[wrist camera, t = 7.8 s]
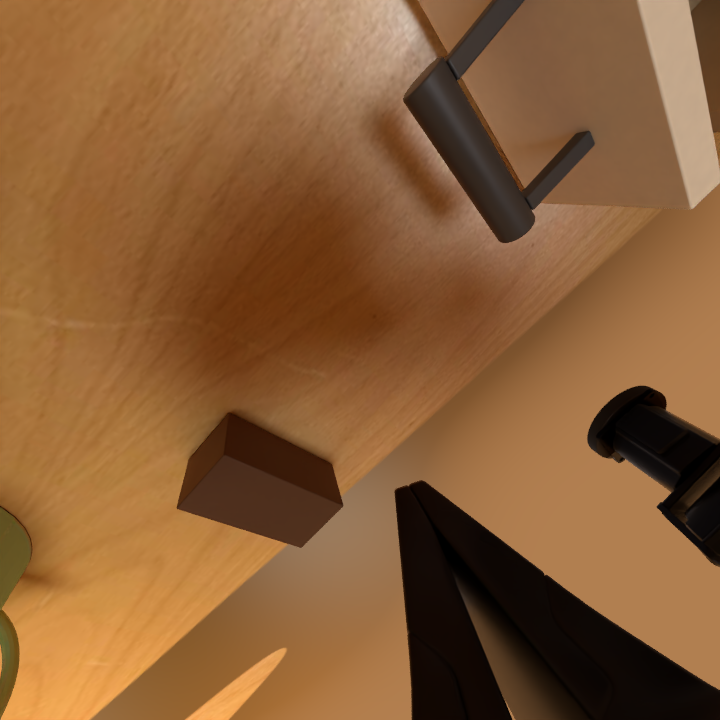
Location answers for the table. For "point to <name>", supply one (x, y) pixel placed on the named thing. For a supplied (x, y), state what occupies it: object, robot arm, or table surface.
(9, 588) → the mug
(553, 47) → the drawer
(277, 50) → the table surface
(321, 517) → the chocolate bar
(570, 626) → the robot arm
